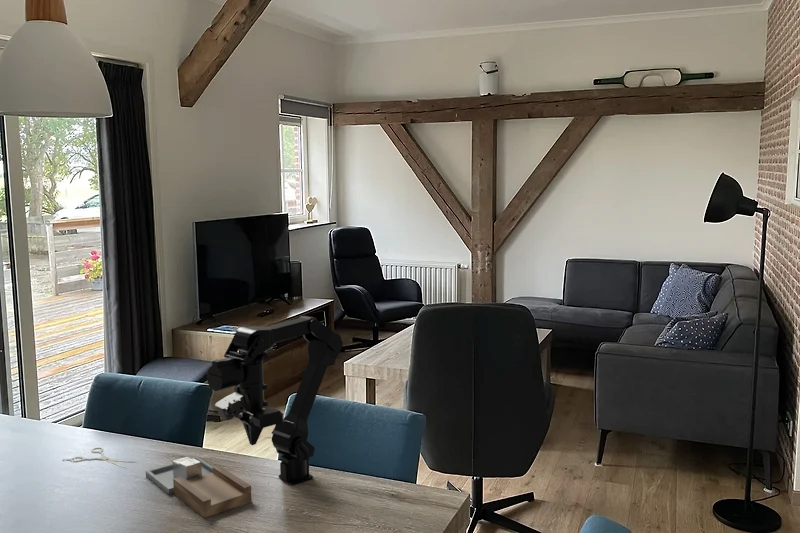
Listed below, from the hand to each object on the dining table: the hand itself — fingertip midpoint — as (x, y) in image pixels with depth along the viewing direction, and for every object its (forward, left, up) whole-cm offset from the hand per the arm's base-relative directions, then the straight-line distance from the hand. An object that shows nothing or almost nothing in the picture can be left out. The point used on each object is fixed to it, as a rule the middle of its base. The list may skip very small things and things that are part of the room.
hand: (252, 444), depth 166 cm
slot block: (+8, -6, -13) cm, 16 cm away
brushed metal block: (+8, -17, -12) cm, 22 cm away
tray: (+8, -22, -13) cm, 26 cm away
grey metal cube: (+8, -19, -10) cm, 23 cm away
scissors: (+19, -47, -14) cm, 52 cm away
